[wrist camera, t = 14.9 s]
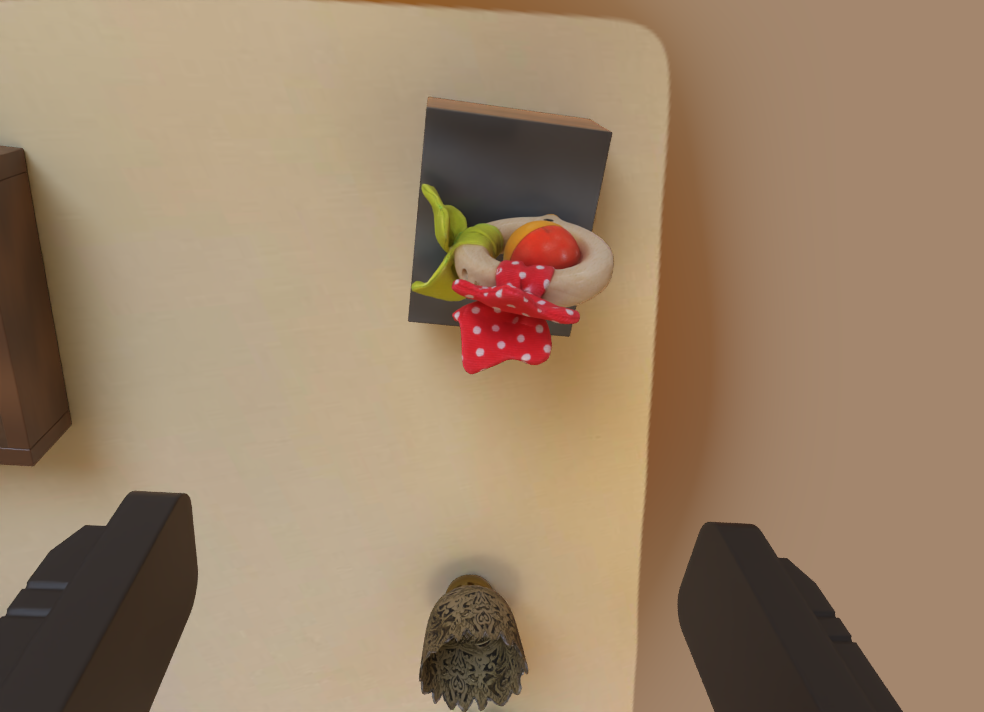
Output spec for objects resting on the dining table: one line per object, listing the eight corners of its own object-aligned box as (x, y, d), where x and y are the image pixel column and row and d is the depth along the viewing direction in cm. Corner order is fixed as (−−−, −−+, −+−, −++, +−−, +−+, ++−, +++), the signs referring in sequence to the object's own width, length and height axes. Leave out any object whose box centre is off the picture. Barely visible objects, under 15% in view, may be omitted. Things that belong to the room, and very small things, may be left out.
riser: (428, 96, 35) (426, 106, 30) (591, 119, 36) (612, 132, 31) (411, 288, 40) (407, 321, 35) (555, 303, 41) (569, 337, 36)
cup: (435, 544, 49) (434, 632, 42) (527, 560, 50) (542, 648, 43) (411, 613, 52) (407, 706, 45) (499, 627, 53) (508, 719, 46)
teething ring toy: (536, 155, 34) (371, 187, 30) (690, 193, 25) (479, 245, 21) (542, 269, 37) (391, 310, 33) (681, 339, 28) (495, 406, 24)
